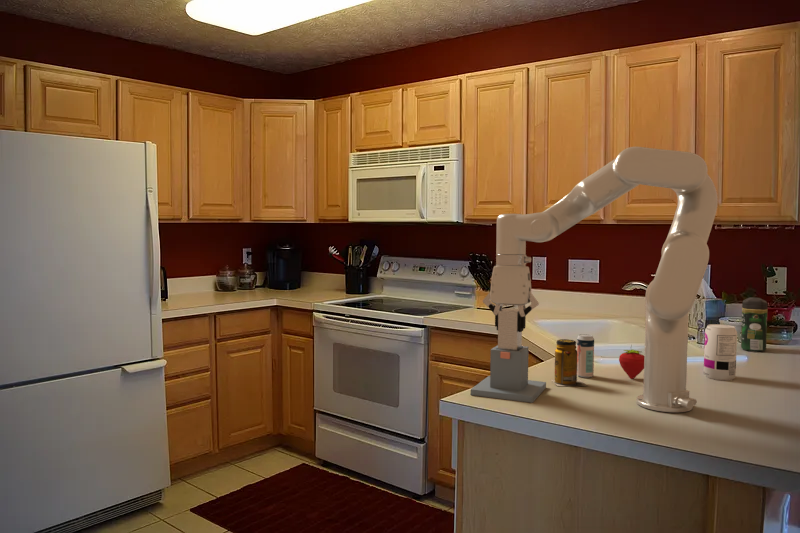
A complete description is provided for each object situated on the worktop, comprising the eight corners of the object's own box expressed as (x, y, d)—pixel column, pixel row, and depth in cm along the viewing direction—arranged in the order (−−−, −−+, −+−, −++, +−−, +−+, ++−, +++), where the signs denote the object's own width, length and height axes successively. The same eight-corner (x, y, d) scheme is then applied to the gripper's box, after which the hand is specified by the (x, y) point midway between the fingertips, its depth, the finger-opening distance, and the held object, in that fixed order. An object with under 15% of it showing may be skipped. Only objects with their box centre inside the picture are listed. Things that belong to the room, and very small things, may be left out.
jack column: (521, 373, 163) (522, 309, 162) (516, 377, 158) (517, 312, 157) (502, 371, 165) (503, 308, 164) (497, 375, 160) (497, 310, 159)
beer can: (580, 373, 182) (581, 333, 181) (595, 376, 179) (596, 335, 178) (573, 376, 178) (574, 335, 177) (589, 379, 175) (590, 337, 174)
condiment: (550, 379, 174) (551, 338, 173) (580, 380, 174) (581, 338, 173) (556, 386, 167) (557, 343, 166) (588, 386, 167) (589, 343, 166)
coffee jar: (740, 346, 224) (742, 295, 223) (765, 348, 220) (767, 297, 219) (740, 351, 216) (742, 298, 214) (766, 353, 212) (768, 299, 211)
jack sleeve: (546, 387, 166) (546, 345, 165) (532, 402, 151) (533, 356, 150) (488, 381, 172) (489, 340, 172) (470, 395, 158) (470, 350, 157)
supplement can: (699, 377, 177) (701, 326, 176) (708, 372, 183) (710, 322, 182) (730, 382, 172) (732, 329, 171) (738, 377, 178) (740, 325, 177)
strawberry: (644, 382, 171) (645, 347, 170) (616, 379, 175) (617, 344, 174) (648, 378, 176) (649, 344, 175) (620, 375, 180) (621, 341, 179)
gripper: (546, 261, 159) (545, 330, 161) (483, 259, 167) (483, 326, 168) (540, 262, 153) (539, 335, 154) (475, 261, 160) (474, 330, 161)
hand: (510, 329), depth 161 cm, fingers closed on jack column, 5 cm apart
